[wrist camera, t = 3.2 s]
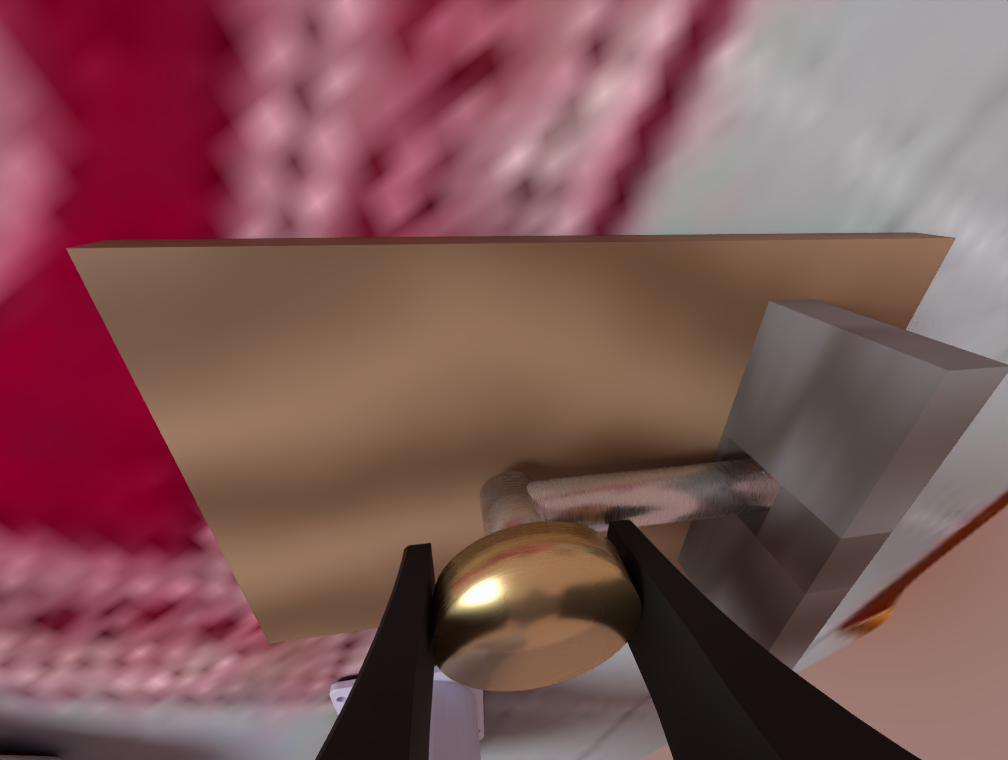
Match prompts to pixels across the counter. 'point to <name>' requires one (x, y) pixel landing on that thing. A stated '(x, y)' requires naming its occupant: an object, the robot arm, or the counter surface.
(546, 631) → the brass knob with shaft
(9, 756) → the wall hook
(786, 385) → the wooden board
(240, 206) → the counter surface
